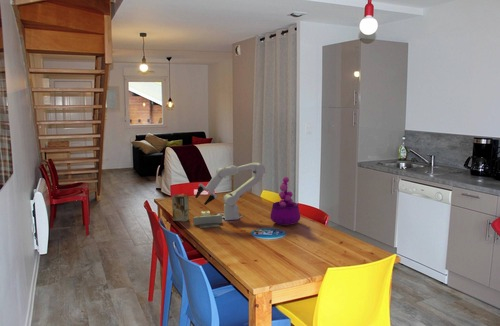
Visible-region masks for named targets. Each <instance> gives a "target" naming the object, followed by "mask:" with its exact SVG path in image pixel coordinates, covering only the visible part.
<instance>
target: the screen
mask: <svg viewBox="0 0 500 326" xmlns="http://www.w3.org/2000/svg"><path fill="white" fill-rule="evenodd" d="M192 217H193V220H192V223H193V224H192V225H193V226H199V224H209V223H218V224H222V223H223V215H222V214H218V215H217V214H216V215H215V214H214V215H210V216H201V215H200V216H192Z"/></svg>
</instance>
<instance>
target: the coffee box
mask: <svg viewBox="0 0 500 326" xmlns="http://www.w3.org/2000/svg"><path fill="white" fill-rule="evenodd" d="M171 197H172V198H171V203H172V204H171V207H172V221H176V222H187V221H188V220H190V214H189V213H190V209H189V208H190V207H189V205H190V204H189V194H188V195H187V194H174V195H172V196H171Z"/></svg>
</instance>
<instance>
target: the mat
mask: <svg viewBox="0 0 500 326" xmlns="http://www.w3.org/2000/svg"><path fill="white" fill-rule="evenodd" d="M198 227H199V228H200V230H202V229H203V230H204V229H213V228H221V225H220V223H209V224H199V225H198Z"/></svg>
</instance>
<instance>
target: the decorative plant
mask: <svg viewBox="0 0 500 326" xmlns="http://www.w3.org/2000/svg"><path fill="white" fill-rule="evenodd" d="M289 182H290V178H289V177H288V176H283V178H282V183H281V185H280V186H279V190H280V192H279V193H278V196H279V198H280V200H279V201H275V202H273V203H272V207H271V211H270V217H269V218H270V219H271V220H272V222H273V223H275V224H278V225H283V226H290V225H294V224H297V223H298V222H299V221H301V212H300V208H299V204H298V203H297V202H294V201H293V198H292V197H293V192H292V191H290V190H289V191H288V183H289Z"/></svg>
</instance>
